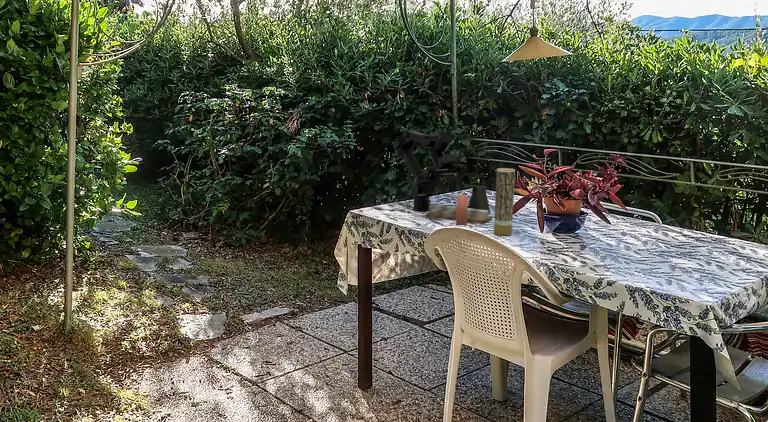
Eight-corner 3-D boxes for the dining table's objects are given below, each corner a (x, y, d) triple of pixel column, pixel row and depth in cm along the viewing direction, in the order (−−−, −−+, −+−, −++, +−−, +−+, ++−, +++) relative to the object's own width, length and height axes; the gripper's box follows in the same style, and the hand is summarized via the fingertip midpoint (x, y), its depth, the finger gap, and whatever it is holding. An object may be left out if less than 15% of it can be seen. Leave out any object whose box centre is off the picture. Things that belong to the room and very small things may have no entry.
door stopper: (490, 213, 289) (491, 186, 286) (481, 215, 285) (482, 188, 283) (475, 210, 296) (476, 184, 293) (466, 212, 292) (467, 185, 289)
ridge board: (426, 217, 280) (426, 206, 279) (435, 212, 289) (435, 202, 288) (483, 224, 268) (484, 213, 267) (492, 219, 277) (492, 209, 276)
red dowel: (454, 225, 265) (455, 196, 263) (458, 223, 269) (459, 194, 267) (464, 226, 263) (465, 197, 261) (468, 224, 267) (469, 195, 265)
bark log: (511, 236, 248) (515, 171, 243) (493, 235, 249) (496, 170, 244) (511, 232, 254) (515, 168, 249) (494, 231, 256) (497, 167, 251)
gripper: (427, 147, 268) (440, 177, 260) (465, 145, 276) (479, 174, 268) (417, 164, 276) (430, 194, 268) (454, 162, 284) (468, 191, 277)
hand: (452, 188), depth 270 cm, fingers open, 9 cm apart
